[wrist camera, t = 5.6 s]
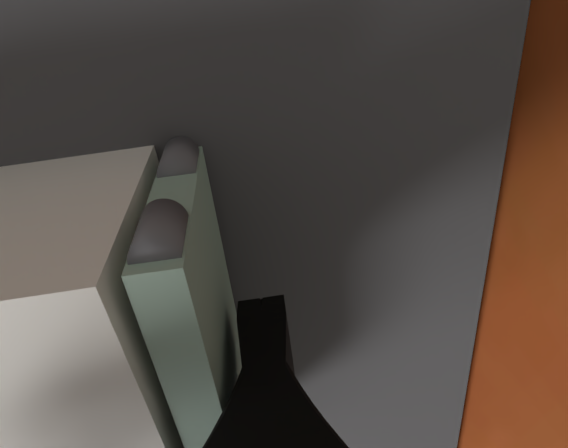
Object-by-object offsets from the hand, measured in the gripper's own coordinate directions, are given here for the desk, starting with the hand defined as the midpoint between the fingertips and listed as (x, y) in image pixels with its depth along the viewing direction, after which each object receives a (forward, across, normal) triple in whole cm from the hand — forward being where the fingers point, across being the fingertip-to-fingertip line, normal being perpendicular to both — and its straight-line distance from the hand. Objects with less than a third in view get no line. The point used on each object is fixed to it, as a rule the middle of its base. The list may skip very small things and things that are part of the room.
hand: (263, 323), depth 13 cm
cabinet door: (+2, +1, +1) cm, 2 cm away
